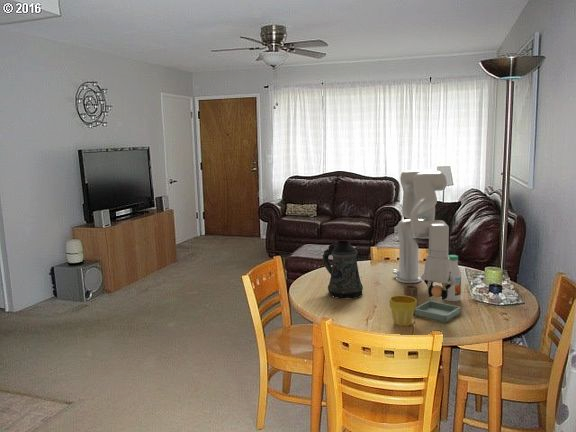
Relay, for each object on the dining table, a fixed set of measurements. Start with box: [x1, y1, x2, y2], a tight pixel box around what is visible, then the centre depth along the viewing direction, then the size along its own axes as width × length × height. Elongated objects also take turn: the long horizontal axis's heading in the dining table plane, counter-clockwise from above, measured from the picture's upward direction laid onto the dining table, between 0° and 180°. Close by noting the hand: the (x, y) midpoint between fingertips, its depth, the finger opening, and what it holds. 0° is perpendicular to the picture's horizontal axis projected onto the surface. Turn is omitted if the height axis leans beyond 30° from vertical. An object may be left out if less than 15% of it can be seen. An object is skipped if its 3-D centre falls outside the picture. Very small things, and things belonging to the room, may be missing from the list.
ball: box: [431, 284, 443, 298], centre depth 195 cm, size 5×5×5 cm
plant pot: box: [388, 294, 418, 327], centre depth 188 cm, size 10×10×10 cm
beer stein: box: [322, 240, 364, 299], centre depth 226 cm, size 16×19×25 cm
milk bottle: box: [443, 254, 462, 302], centre depth 214 cm, size 8×8×20 cm
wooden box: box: [403, 284, 418, 301], centre depth 213 cm, size 4×4×7 cm
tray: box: [413, 300, 462, 324], centre depth 197 cm, size 14×14×3 cm
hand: (437, 297), depth 196 cm, fingers closed on ball, 4 cm apart
